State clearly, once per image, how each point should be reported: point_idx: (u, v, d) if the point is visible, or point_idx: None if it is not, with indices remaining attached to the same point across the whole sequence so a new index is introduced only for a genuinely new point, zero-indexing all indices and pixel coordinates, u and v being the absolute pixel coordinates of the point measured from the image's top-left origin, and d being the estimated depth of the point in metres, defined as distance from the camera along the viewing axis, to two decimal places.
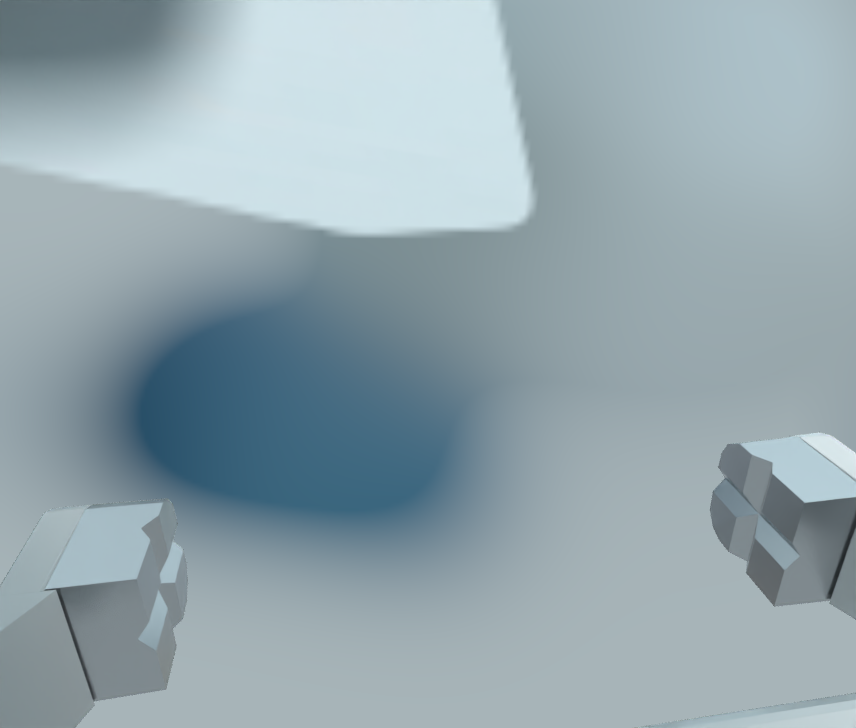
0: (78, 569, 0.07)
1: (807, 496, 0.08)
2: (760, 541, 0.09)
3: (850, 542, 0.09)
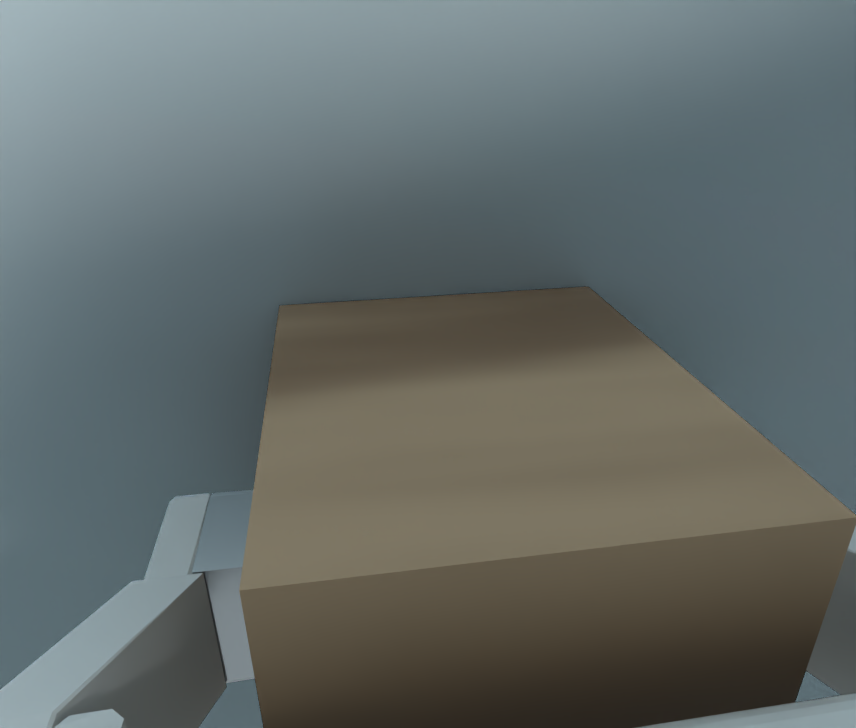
0: (218, 554, 0.07)
1: None
2: None
3: None
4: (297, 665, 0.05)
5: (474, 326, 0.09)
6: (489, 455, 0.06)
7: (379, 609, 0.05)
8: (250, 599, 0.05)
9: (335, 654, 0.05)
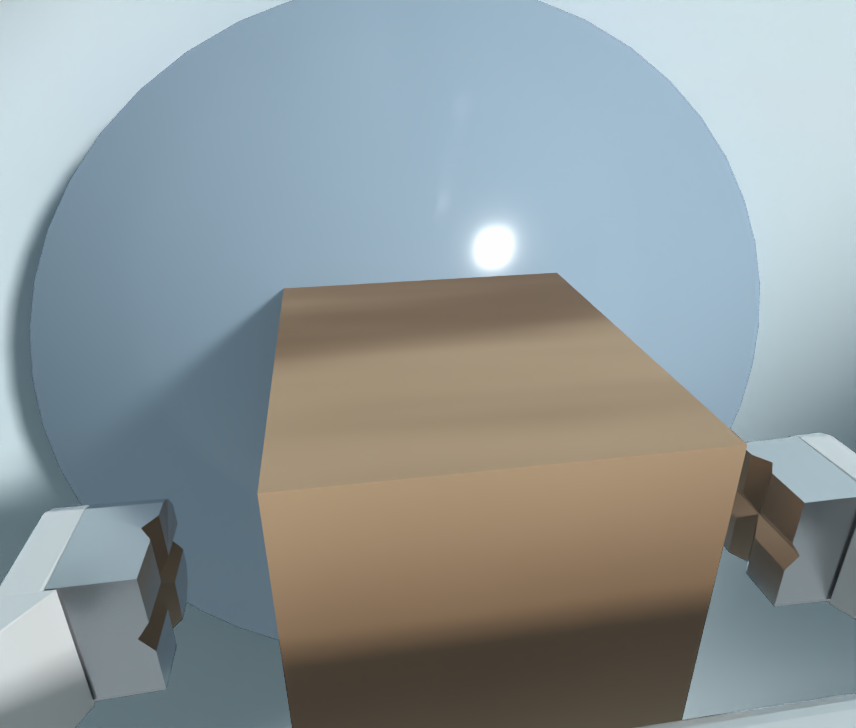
0: (78, 570, 0.07)
1: (807, 496, 0.08)
2: (760, 541, 0.09)
3: (850, 542, 0.09)
4: (301, 558, 0.07)
5: (453, 305, 0.11)
6: (458, 402, 0.08)
7: (365, 512, 0.06)
8: (266, 501, 0.06)
9: (332, 549, 0.07)
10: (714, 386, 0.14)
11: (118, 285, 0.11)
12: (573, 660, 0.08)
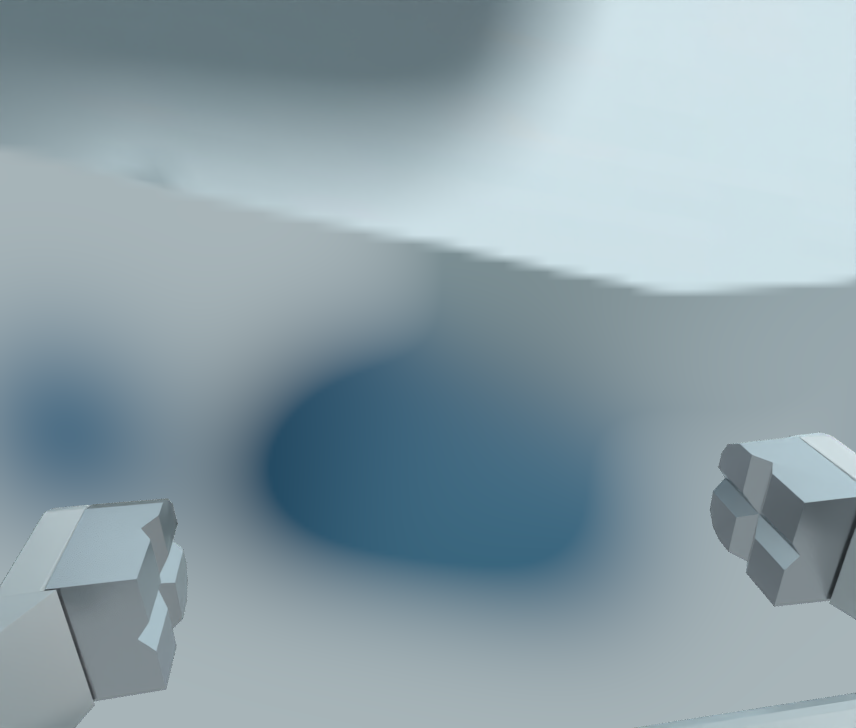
0: (78, 570, 0.07)
1: (807, 496, 0.08)
2: (760, 541, 0.09)
3: (850, 542, 0.09)
4: None
5: None
6: None
7: None
8: None
9: None
10: None
11: None
12: None
